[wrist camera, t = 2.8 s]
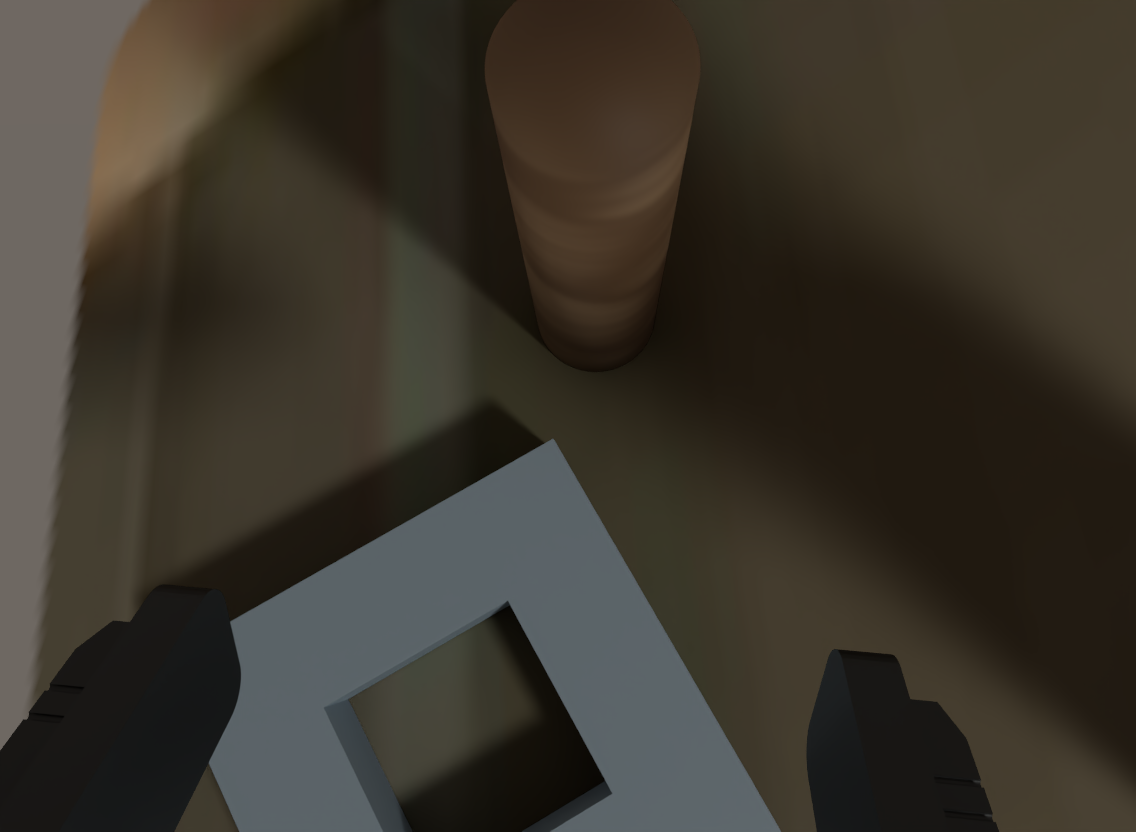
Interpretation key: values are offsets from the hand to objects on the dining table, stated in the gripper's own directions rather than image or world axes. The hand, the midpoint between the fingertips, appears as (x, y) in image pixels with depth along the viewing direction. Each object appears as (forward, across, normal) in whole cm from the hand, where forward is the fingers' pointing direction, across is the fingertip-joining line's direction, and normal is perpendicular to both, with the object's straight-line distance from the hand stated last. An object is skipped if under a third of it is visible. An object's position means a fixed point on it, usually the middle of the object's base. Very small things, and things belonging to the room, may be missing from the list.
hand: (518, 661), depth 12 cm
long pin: (+19, 0, +4) cm, 20 cm away
